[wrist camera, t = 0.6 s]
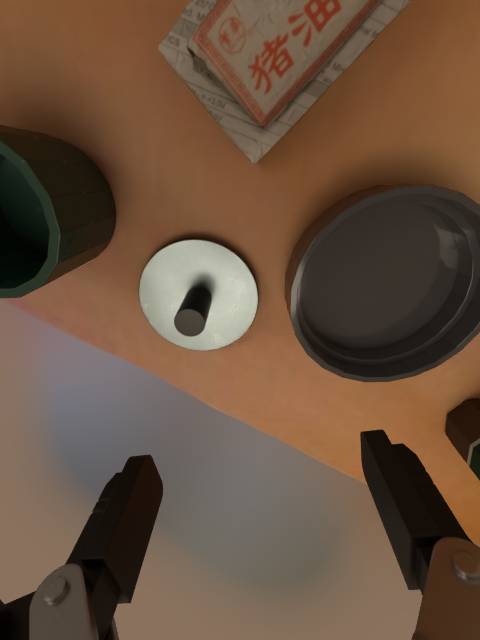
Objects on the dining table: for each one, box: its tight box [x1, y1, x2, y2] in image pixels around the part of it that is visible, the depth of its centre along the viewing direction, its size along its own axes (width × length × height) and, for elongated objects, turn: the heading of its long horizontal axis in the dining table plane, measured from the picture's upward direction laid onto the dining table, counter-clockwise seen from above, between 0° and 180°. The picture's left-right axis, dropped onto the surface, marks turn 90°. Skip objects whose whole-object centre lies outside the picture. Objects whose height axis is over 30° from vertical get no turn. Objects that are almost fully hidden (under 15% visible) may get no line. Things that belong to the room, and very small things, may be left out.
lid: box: [139, 238, 258, 351], centre depth 27 cm, size 12×12×6 cm
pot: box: [0, 125, 116, 298], centre depth 22 cm, size 11×11×9 cm
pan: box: [285, 184, 480, 382], centre depth 27 cm, size 17×17×4 cm
